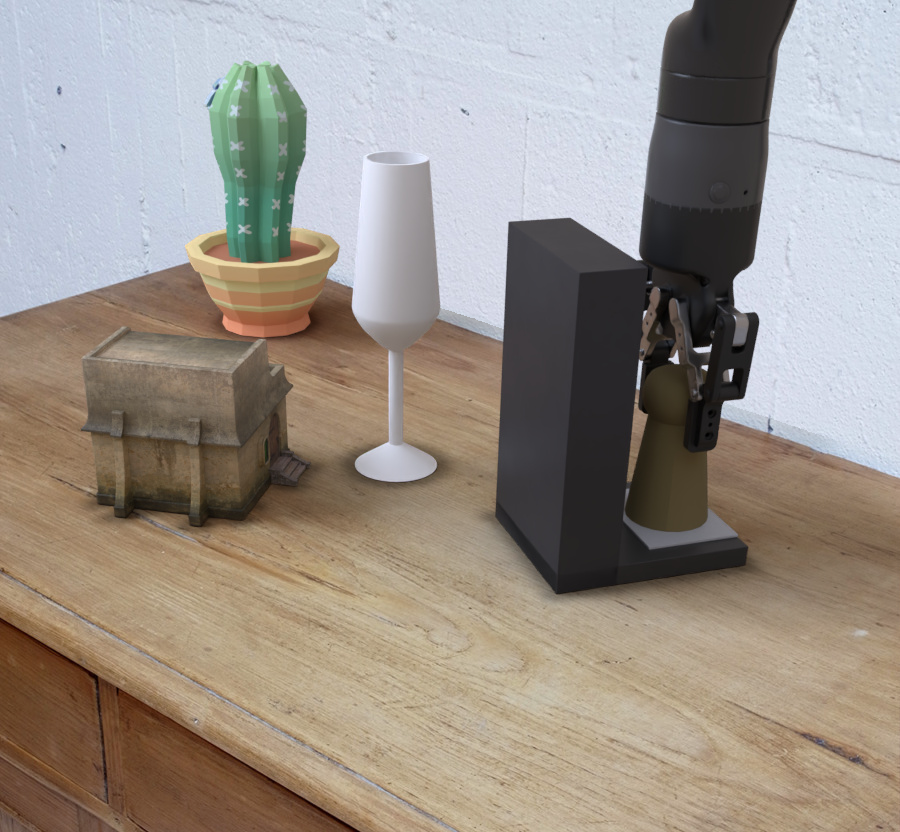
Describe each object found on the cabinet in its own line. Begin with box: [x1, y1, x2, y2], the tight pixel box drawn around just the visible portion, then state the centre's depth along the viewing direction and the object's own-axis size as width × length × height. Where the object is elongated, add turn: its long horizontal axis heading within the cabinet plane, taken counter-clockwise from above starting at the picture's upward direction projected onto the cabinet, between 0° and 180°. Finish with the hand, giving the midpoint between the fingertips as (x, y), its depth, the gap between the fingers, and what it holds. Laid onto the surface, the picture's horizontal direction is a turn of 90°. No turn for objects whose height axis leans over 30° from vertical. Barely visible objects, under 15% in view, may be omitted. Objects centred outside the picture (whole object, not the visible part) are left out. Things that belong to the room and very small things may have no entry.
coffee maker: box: [494, 217, 749, 595], centre depth 90 cm, size 14×12×22 cm
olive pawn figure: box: [624, 363, 709, 532], centre depth 93 cm, size 6×6×11 cm
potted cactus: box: [184, 60, 341, 338], centre depth 129 cm, size 15×15×25 cm
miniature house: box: [80, 325, 312, 527], centre depth 100 cm, size 15×14×11 cm
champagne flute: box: [351, 150, 441, 483], centre depth 100 cm, size 7×7×24 cm
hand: (675, 429), depth 93 cm, fingers open, 6 cm apart
